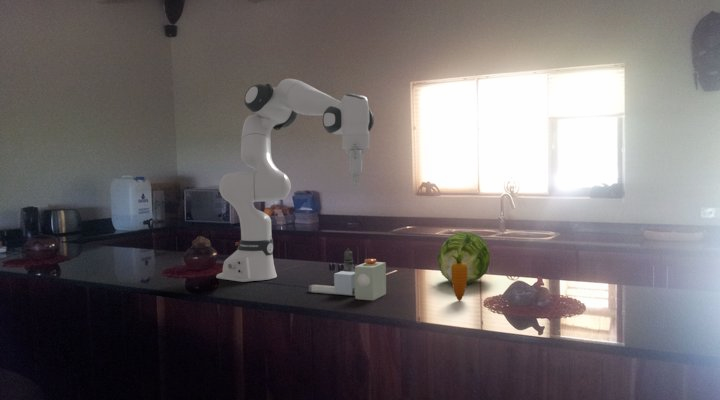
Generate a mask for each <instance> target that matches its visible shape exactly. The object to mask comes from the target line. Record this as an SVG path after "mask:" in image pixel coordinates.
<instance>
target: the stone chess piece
mask: <svg viewBox="0 0 720 400" xmlns="http://www.w3.org/2000/svg"><path fill="white" fill-rule="evenodd" d="M343 254H344V255H343V256H344V257H343V265H344V267H343V269H342V271H347V272H355V268H354V266H353V265H354V263H353V262H354V259H353V251H351V250H350V249H349V247H348V248H347V249H346V250H345V251H344V253H343Z"/></svg>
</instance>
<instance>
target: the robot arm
mask: <svg viewBox="0 0 720 400" xmlns="http://www.w3.org/2000/svg"><path fill="white" fill-rule="evenodd" d="M244 105H245V106H246V108H247V109H249V111H251V112H252V113H254V114H250V115H248V116H247V117H246V118H245V119H244V121H243V126H242V131H241V138H240V139H241V140H240V142H241V143H240V145H241V146H240V147H241V148H240V159H241V161H242V163H244V164H245V165H246V166H247V167H249V168H251V169H253V170H254V171H236V172H235V171H234V172H231V173H225V174H224V175H223V176H222V177H221V179H220V181H219V184H218V185H219V186H218V190H219V193H220V195H221V198H223V200H225V201H226V202H228V203H229V204H230V205H231V206H232V207H233V208H234V210H235V212H236V213H237V216H238V218H239V225H240V240H239V241H236V242H234V244H235V245H234V246H237V248H236V250H235V251H234V252H233V253H231V255H229V256H228V257H227V258H226V259H225V260H224V261H223V265H222V272H220V273H217V274H216V279H220V280H228V281H233V282H234V281H235V282H242V283H244V282H246V283H247V282H254V281H257V282H258V281H265V280H273V279H275V278H277V277H278V275H277V272H276V267H275V264H274V263H275V261H274V255H273V254H274V253H273V252H274V238H273V237H272V236H273V234H272V219H271V217H270V215H269V214H267V213H265V212H264V211H262V210H259V209H257V208H256V207H255V204H254V203H256V202H257V203H258V202H260V203H261V202H263V203H264V202H276V201H282V200H285V199H287V198H288V196H289V195H290V193H291V189H292V183H291V180H290V178H289V176H288V175H287V174H286V173H284V172H283V171H281V170H280V169H279V168H278V167H277V166H276V165H275V163H274V161H273V158H272V150H271V149H272V148H271V147H272V145H271V144H272V143H271V139H272V138H271V137H272V135H271V134H272V133H271V132H272V130H273V129H274V130H275V131H279V130H281V129H284V128H287V127H289V126H290V125H292V124H293V123H294V122H295V120H296V119H297V115H298V114H299V115H302V116H322V125H323V128H324V130H325V131H327V133H329V134H333V135H341V136H342V137H341V138H342V144H341V145H342V150H345V152H346V155H349V174H351V175H352V182H353V187H354V188H358V187H359V186H360V174H361V173H362V171H363V166H364V165H363V164H364V157H365V155H366V154H367V153H366V150H370V132H371V130H372V129H373V127H374V123H375V119H374V114H373V112H372V110H371V109H370V108H369V107H370V106H369V101H368V97H366V96H365V95H363V94H357V93H346V94H344V95H343V96H342V98H341V99H337V98H336V97H334V96H331V95H329V94H327V93H325V92H322V90H318V89H317V88H316V87H314V86H311V85H309V84H308V83H305V82H304V81H302V80H299V79H295V78H285V79H283V80H281V81H280V82H279V83H278V85H277V86H276V87H275V86H274V87H273V86H272V84H271V83H266V84H261V83H257V84H254V85H252V86H250V87H249V88H248V89H247V90H246V92H245V95H244Z"/></svg>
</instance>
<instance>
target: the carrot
mask: <svg viewBox="0 0 720 400" xmlns="http://www.w3.org/2000/svg"><path fill="white" fill-rule="evenodd" d="M457 253H458V257H456V256H455V255H453V254H452V255H451V256H452V257H454V258H455V259H456V261H457V262H456V263H453V264H452V267H451V270H452V282H451V283H452V288H453V292H454V294H455V297H456V299H457V300H458V301H459V302H461V300H463V297H464V295H465V292H466V287H467V284H466V283H467V265H466V264H465V263H462V262H461V261H462V259H463V255H464V253H462V254H461V253H460V250H457Z"/></svg>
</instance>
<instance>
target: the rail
mask: <svg viewBox="0 0 720 400" xmlns="http://www.w3.org/2000/svg"><path fill="white" fill-rule="evenodd" d="M308 292H309V293H319V294H327V295H328V294H329V295H336V294H335V290H334V285H326V284H325V285H323V284H310V285H308ZM338 295H339V296H340V295H341V296H347V295H346V294H338ZM349 296H351V297H352V296H353V297H355V288H353V295H349Z"/></svg>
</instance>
